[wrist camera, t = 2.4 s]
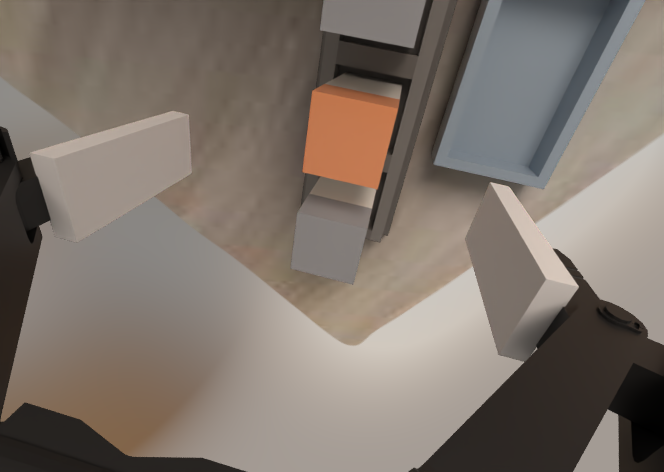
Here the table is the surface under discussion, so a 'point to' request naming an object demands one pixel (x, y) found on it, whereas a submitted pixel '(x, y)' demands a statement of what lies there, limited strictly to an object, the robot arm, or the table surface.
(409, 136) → the block
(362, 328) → the table surface
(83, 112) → the table surface
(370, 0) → the block
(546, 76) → the tray
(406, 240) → the table surface
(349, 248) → the block
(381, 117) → the block
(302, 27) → the table surface
